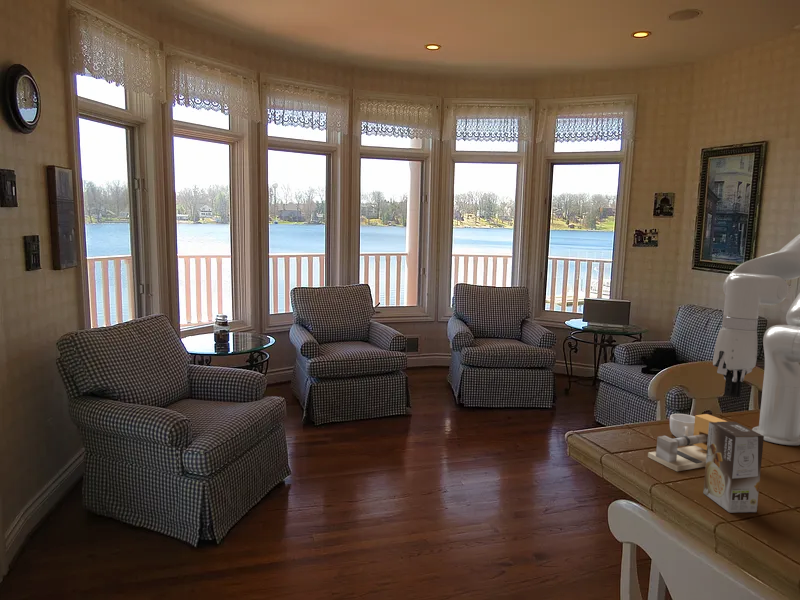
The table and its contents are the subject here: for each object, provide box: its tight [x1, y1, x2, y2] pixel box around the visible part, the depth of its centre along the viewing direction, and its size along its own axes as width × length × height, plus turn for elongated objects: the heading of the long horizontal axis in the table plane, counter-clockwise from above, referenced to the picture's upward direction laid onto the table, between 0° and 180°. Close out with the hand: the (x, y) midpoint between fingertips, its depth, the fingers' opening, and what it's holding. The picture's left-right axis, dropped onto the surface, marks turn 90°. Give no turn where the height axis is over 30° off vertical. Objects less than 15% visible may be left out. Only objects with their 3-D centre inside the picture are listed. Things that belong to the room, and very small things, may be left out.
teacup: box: [669, 413, 695, 438], centre depth 157 cm, size 10×8×5 cm
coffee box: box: [703, 421, 765, 513], centre depth 119 cm, size 9×6×16 cm
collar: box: [692, 413, 729, 450], centre depth 143 cm, size 4×6×8 cm, turn 21°
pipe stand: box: [647, 434, 708, 472], centre depth 142 cm, size 20×9×6 cm, turn 111°
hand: (732, 395), depth 144 cm, fingers closed
